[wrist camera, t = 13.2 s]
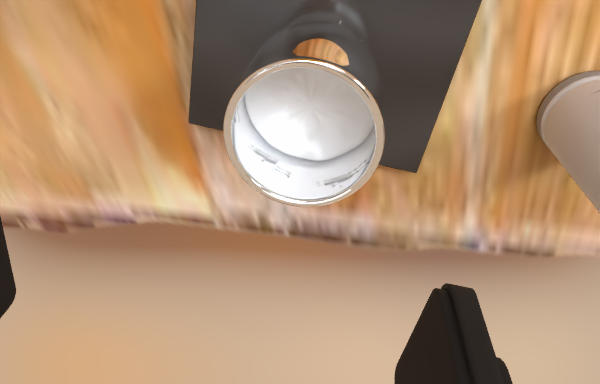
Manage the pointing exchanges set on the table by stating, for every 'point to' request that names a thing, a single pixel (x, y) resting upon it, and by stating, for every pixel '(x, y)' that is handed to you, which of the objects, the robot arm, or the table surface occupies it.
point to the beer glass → (309, 109)
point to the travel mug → (575, 129)
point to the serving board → (383, 46)
